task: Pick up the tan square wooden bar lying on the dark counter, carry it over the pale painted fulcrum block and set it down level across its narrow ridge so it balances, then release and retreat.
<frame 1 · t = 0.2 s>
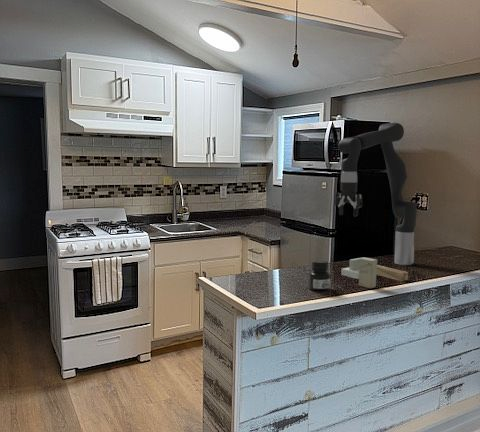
hand: (348, 215, 217), 29 cm above the table, fingers open, 8 cm apart
ink bottle: (319, 289, 196), on the table
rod: (388, 277, 217), on the table
fulcrum: (357, 275, 220), on the table
skincare box: (367, 286, 200), on the table
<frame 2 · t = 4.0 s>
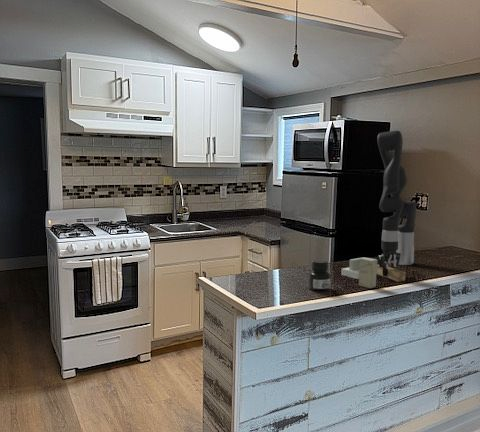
hand: (388, 275, 217), 1 cm above the table, fingers closed on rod, 4 cm apart
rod: (388, 276, 217), on the table, touching gripper
everything else where it was.
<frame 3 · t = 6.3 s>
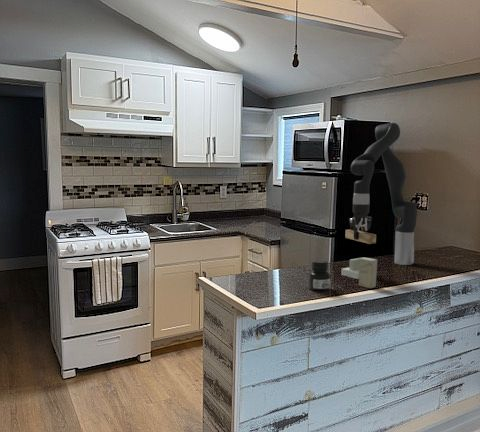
hand: (359, 238, 217), 18 cm above the table, fingers closed on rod, 4 cm apart
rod: (360, 240, 217), point 17 cm above the table, touching gripper
everything else where it was.
when the fingers open (9 cm above the table, at t = 9.0 s): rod stays where it is, resting on fulcrum.
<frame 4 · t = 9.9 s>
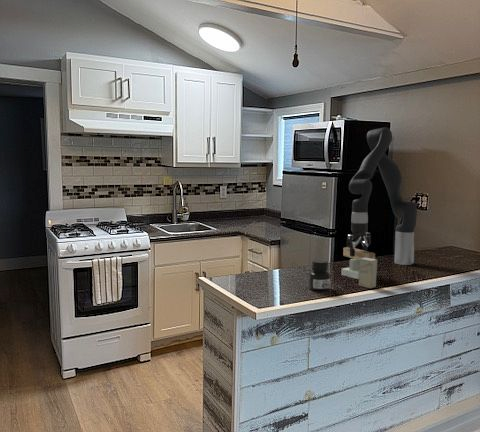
hand: (358, 255, 218), 10 cm above the table, fingers open, 8 cm apart
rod: (358, 258, 219), point 8 cm above the table, touching fulcrum
everything else where it was.
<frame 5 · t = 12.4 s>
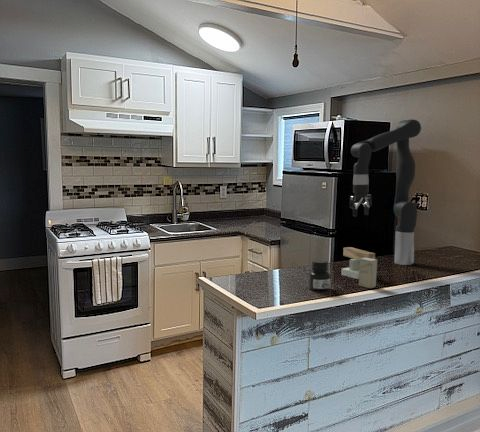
hand: (360, 215, 231), 27 cm above the table, fingers open, 8 cm apart
nothing on the table moved.
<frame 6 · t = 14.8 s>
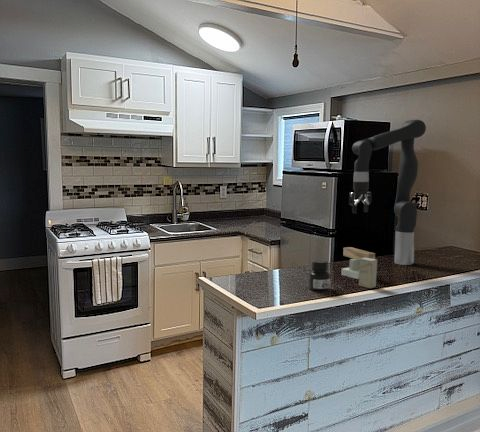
hand: (360, 212, 234), 28 cm above the table, fingers open, 8 cm apart
nothing on the table moved.
at the end: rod 0.0 cm off-centre on the fulcrum, point 8.0 cm above the fulcrum's base; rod tilted 0°; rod touching fulcrum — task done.
